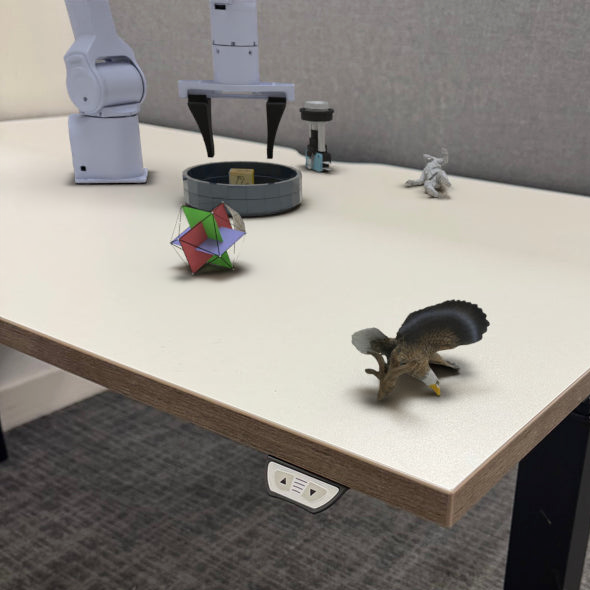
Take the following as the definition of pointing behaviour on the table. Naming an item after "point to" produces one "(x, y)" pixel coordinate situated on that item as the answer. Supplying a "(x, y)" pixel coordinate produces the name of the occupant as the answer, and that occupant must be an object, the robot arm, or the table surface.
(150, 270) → the table surface
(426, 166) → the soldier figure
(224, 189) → the bowl
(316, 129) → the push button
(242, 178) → the alphabet block
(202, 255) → the geometric puzzle
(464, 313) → the eagle figurine
